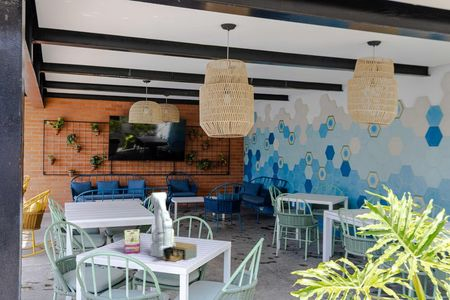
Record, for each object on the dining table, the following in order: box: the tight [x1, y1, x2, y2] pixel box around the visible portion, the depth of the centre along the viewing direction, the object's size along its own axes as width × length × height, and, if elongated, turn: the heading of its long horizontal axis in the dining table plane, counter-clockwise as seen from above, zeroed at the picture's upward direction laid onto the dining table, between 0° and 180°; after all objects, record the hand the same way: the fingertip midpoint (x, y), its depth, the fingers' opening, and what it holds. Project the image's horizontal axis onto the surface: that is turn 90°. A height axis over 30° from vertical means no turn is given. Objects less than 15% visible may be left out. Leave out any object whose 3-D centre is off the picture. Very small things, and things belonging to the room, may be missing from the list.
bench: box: [171, 241, 198, 261], centre depth 289 cm, size 18×12×8 cm, turn 58°
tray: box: [162, 249, 185, 263], centre depth 284 cm, size 10×14×5 cm
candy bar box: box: [123, 228, 141, 255], centre depth 301 cm, size 11×5×16 cm, turn 101°
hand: (167, 259), depth 277 cm, fingers closed
